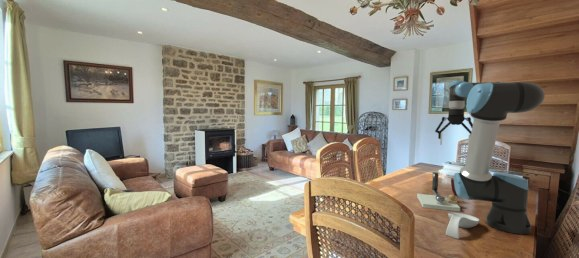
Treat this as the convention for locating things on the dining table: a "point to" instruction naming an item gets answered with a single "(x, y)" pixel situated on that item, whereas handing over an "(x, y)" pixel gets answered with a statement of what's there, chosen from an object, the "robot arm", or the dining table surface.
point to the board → (433, 201)
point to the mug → (453, 186)
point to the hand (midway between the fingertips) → (454, 145)
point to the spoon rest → (460, 223)
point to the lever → (436, 187)
